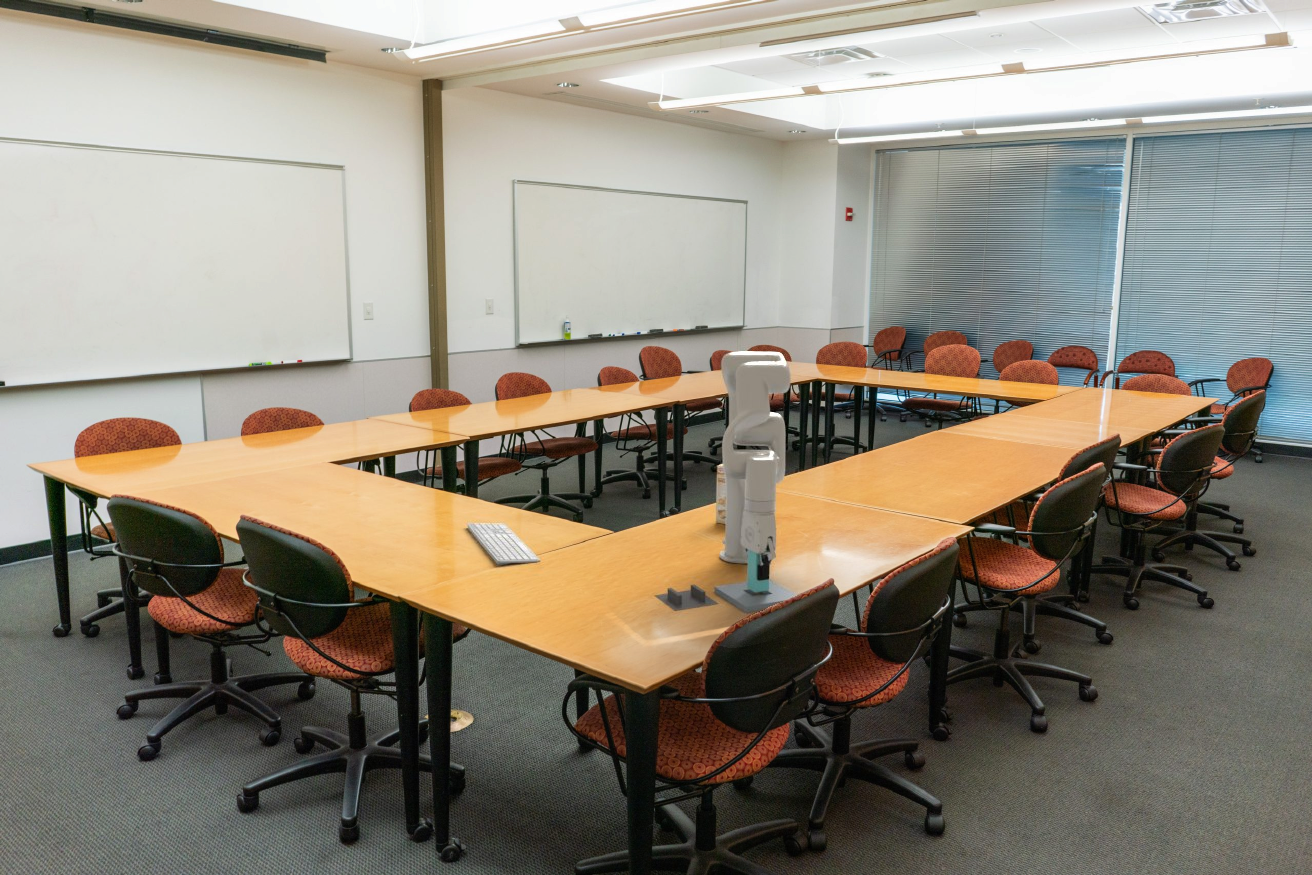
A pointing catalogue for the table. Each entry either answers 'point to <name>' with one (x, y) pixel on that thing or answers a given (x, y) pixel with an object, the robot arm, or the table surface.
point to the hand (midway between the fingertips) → (758, 576)
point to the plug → (755, 574)
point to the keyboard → (502, 543)
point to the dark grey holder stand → (686, 598)
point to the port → (745, 600)
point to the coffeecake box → (721, 496)
